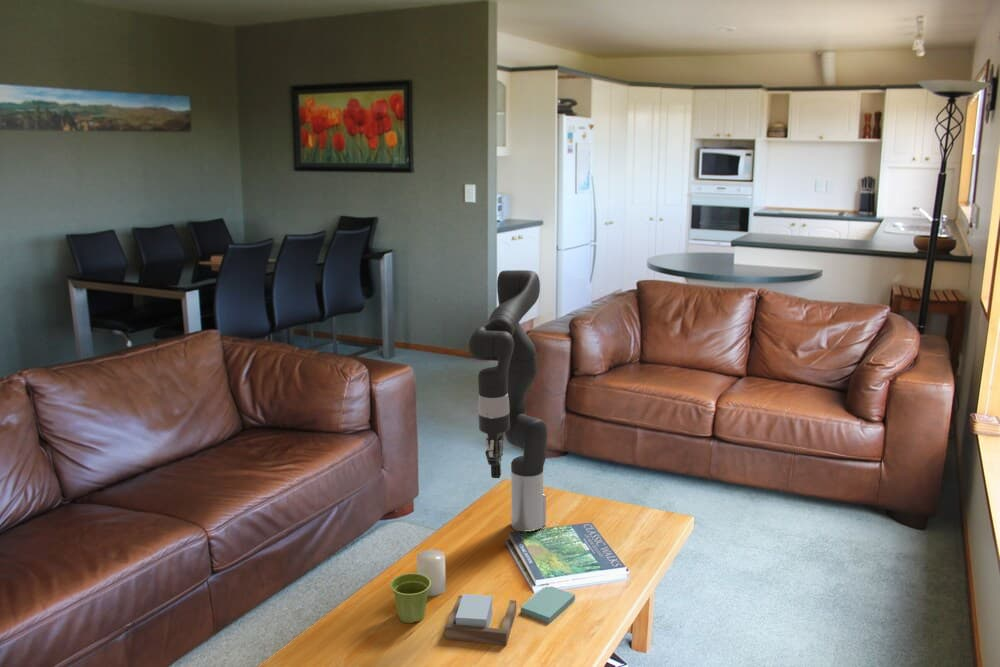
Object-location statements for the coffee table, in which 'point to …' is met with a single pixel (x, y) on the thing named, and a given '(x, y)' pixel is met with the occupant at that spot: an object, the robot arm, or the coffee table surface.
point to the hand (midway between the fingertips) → (496, 476)
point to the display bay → (480, 628)
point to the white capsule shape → (433, 570)
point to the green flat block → (547, 604)
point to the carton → (474, 610)
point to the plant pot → (411, 596)
